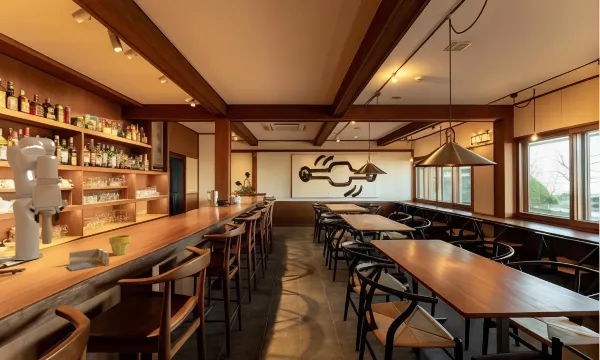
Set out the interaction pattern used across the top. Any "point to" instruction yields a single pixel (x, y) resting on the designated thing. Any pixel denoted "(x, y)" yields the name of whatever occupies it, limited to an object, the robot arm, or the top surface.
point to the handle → (46, 225)
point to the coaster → (81, 266)
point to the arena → (89, 256)
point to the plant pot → (120, 244)
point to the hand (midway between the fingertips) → (47, 221)
